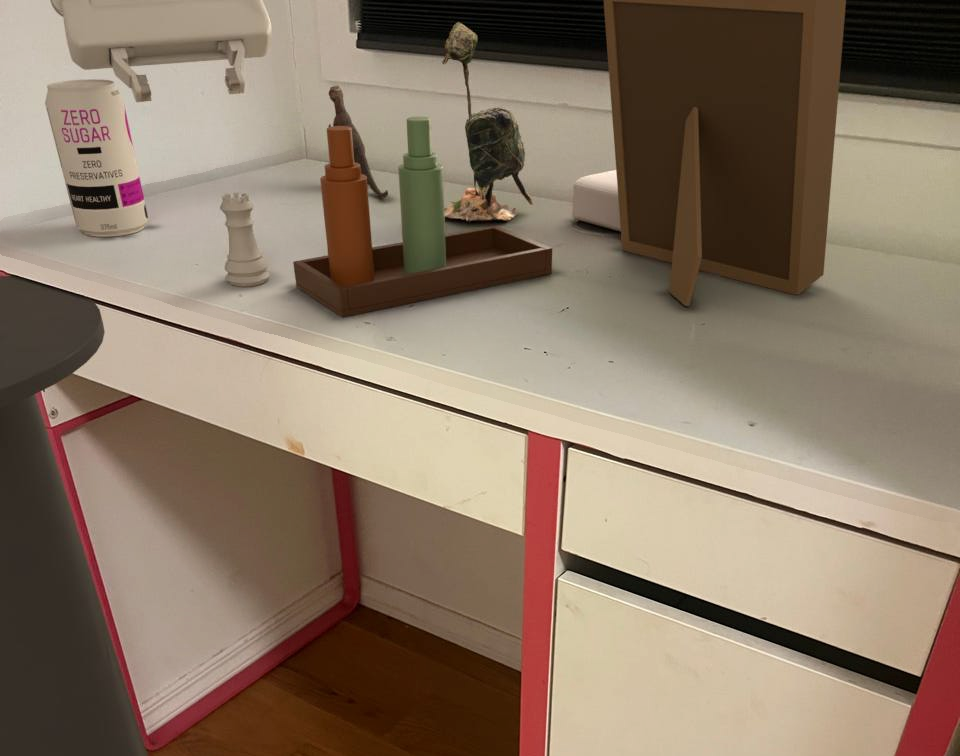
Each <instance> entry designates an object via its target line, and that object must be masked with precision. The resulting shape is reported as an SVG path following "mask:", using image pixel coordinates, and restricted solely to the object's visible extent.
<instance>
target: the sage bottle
mask: <svg viewBox="0 0 960 756" xmlns="http://www.w3.org/2000/svg"><path fill="white" fill-rule="evenodd" d="M405 121H406V135H407V136H406V137H407V139H406V140H407V152H406V153H403V155H402V161H403V162H402V164H400V165H398V168H397V169H398V185H399V186H398V187H399V203H400V218H401V219H400V220H401V221H400V222H401V234H402V235H401V237H402V242H403V257H404V274H410V273H415V272H420V271H425V270H430V269H436V268H441V267H446V247H445V234H446V220H445V219H446V216H444V209H445V190H444V189H445V187H444V185H445V184H444V166H443V164H441V163H439V162H438V154H437V153H436V152H434V151H432V150H433V148H432V125H431V124H432V123H431V117H428V116H411V117H408V118H406V120H405Z"/></svg>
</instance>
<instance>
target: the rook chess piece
mask: <svg viewBox="0 0 960 756" xmlns="http://www.w3.org/2000/svg"><path fill="white" fill-rule="evenodd" d="M249 196H250V195H249V194H248V193H245V192H242V193H241V197H240V194H239V192H233V197H231V193H225V194H224V195H222V196H221V199H222V202H221V204H220V206H219V210H220V211H221V212H222V213H223V214H224V215H225V218H226V220H225V223H224V226H225V227H226V228H227V232H228V254H227V256H226V258H227V260H226V261H225V263H224V271H226V272H227V274H225V280H226V281H227V282H228V283H229V284H230V285H232V286H234V287H242V288H243V287H245V288H247V287H255V286H259V285H262V284H265V283H267V281H269V278H270V276H271V272H268V271H267V268H268V265H269V264H268V262H267V260H266V259H265V258H264V257H263V254H262V252H260V250H259V247H258V244H257V241H256V236H255V234H254V233H255V232H254V227H253V226H254V224H255V220H253V219H252V216H251V213H252V211H253V209H254V207H255V204H253V202H252V201H251V200H250V197H249Z"/></svg>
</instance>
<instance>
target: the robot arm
mask: <svg viewBox="0 0 960 756" xmlns="http://www.w3.org/2000/svg"><path fill="white" fill-rule="evenodd" d="M49 1H50V4H51V7H52V9H54V11H55V13H57V14H58V15H59V16H60V17H62V19H63V27H64V32H65V39H66V43H67V47H68V52H69V55H70V58H71V61H72V62H73V63H74V64H75V65H77V67H79V68H81V69H82V70H85V71H86V70H87V71H90V70H100V69H112V70H113V73H114V76H115V77H117V79H119V80H120V81H121V82H122V83H123V84H124V85H125V86H126V87H128V88H129V89H131V92H132V95H133V98H134V101H135V103H145V102H152V89H151V85H150V84H149V80H148V77H147V74H138V73H137V72H135V71H134V69H133V68H132V67H143V66H156V65H170V64H182V63H183V64H184V63H198V62H211V61H223V60H227V61H228V63H229V66H231V67H228V68H227V67H226V68H225V76H224V84H225V86H226V88H227V91H228V94H229V95H239V94H244V93H245V86H246V84H245V79H244V75H243V73H242V71H243V68H244V64H245V63H244V62H245V59H252V58H263V57H265V56H266V55H267V53H268V51H269V49H270V47H271V42H272V34H273V27H272V22H271V19H270V16H269V12H268V10H267V8H266V5H265V3H264V1H263V0H49Z"/></svg>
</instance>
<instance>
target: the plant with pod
mask: <svg viewBox="0 0 960 756" xmlns="http://www.w3.org/2000/svg"><path fill="white" fill-rule="evenodd" d="M478 40H479V38H478V35H477V34H476V32H473V30H471V29H470V28H468V27H467V26H465V24H463V23H462V22H459V21H458V22H456V23H455V24H454V25H453V26H452V28H451V31H450V32H449V36H448V38H447V39H446V41H445V44H444V51H445V52H446V53H445V55H444V59H443V60H442V62H441V64H442V65H446V64H447V63H448V62H449V60H452V61H456V62H457V61H458V62H460V63H461V64H462V69H463V77H464V85H465V87H466V100H467V113H468V118H467V119H466V121H465V124H464V131H465V137H466V144H467V148H468V157H469V158H468V159H469V165H470V168H471V170H472V172H473V186H474V188H471V187H467V188H466V190H465V194H463V195H462V196H461V198H460V199H459V200H458V201H450V200H449V202H450V204H449V205H448V206H447V207H444V216H445V218H449V219H461V220H462V221H464V220H466V222H471V221H477V222H478V221H479V222H487V221H505V222H509V221H511V220H512V219H513V218H514V217H516V216H517V215H518V210H517V209H516V208H515V207H514V208H511V207H509V205H507V204H503V205H501V204H500V203H499V202H498V201H497V198H496V196H495V195H494V194H493V188H494V183H495V181H497V180H498V181H502V180H504V179H506V178H508V177H510V176H512V179H513V181H514V183H515V185H516V187H517V188H518V190H519V192H520V193H521V195H522V196H523V197H524V199H525V200H526V201H527V202H528V204H530V205H533V204H534V201H533V198H532V197H531V196H530V195H529V193H527V191H526V189H525V187H524V185H523V182H522V181H521V179H520V177H519V173H520V172H521V171H522V170H523V169H524V166H525V161H526V151H525V147H524V146H525V145H524V144H525V143H524V142H523V140H522V135H521V132H520V128H519V124H518V121H517V118H516V117H515V115H514V112H513V111H511V110H510V109H509V108H507V107H506V106H495V107H492V108H491V107H490V108H488V109H485V110H484V109H482V110H480V111H478V112H476V113H475V112H473V113H472V101H471V100H472V99H471V91H470V85H469V80H470V78H469V75H470V72H469V65H468V64H470V63H471V62H472V60H473V56H474V54H475V51H476V47H477V43H478ZM476 186H478V189H477V187H476Z"/></svg>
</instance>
